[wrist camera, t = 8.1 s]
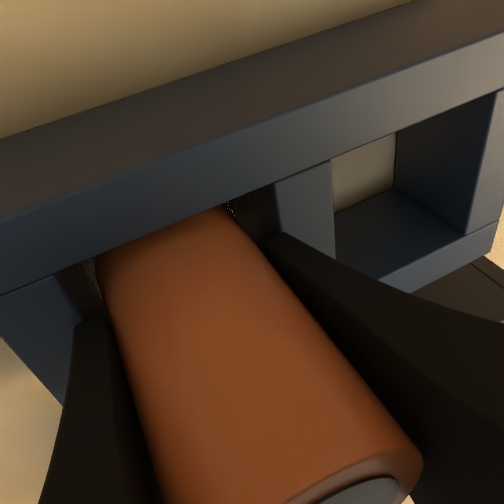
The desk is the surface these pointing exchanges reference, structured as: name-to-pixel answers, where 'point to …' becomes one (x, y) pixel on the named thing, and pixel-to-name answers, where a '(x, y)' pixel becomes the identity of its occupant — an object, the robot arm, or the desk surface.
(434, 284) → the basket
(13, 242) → the rack
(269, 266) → the tube
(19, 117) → the desk surface
